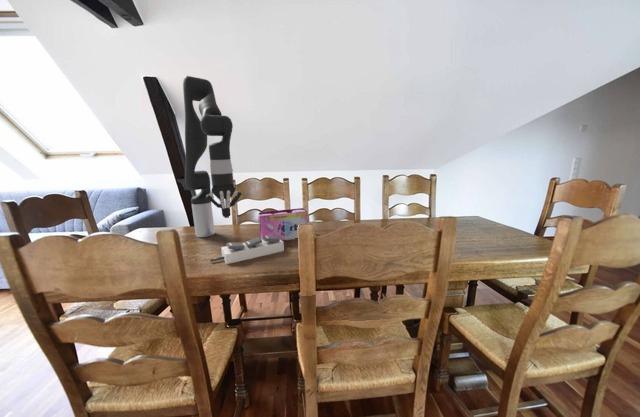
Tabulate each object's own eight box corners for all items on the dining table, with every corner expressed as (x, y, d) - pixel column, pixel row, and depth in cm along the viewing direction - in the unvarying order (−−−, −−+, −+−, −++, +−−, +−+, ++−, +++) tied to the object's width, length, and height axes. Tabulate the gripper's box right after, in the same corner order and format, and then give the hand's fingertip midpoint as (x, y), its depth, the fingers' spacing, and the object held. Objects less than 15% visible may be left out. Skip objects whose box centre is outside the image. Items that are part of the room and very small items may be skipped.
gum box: (260, 244, 119) (258, 216, 116) (258, 238, 126) (256, 212, 123) (308, 237, 126) (308, 211, 123) (304, 232, 134) (303, 207, 131)
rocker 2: (245, 244, 106) (244, 241, 105) (258, 239, 108) (258, 236, 108) (248, 248, 102) (247, 245, 101) (262, 242, 104) (261, 239, 104)
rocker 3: (262, 238, 109) (262, 235, 109) (275, 238, 112) (275, 235, 112) (266, 241, 105) (266, 238, 105) (279, 241, 108) (279, 238, 108)
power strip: (209, 259, 103) (207, 247, 102) (276, 244, 117) (275, 234, 116) (212, 267, 95) (211, 255, 94) (284, 250, 110) (283, 240, 109)
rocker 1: (226, 245, 102) (226, 242, 101) (241, 245, 105) (241, 242, 105) (228, 249, 98) (229, 245, 98) (244, 248, 101) (244, 245, 101)
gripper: (237, 170, 100) (241, 213, 104) (201, 172, 93) (206, 217, 97) (242, 171, 94) (246, 216, 97) (203, 174, 87) (209, 222, 91)
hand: (226, 217), depth 97 cm, fingers closed
